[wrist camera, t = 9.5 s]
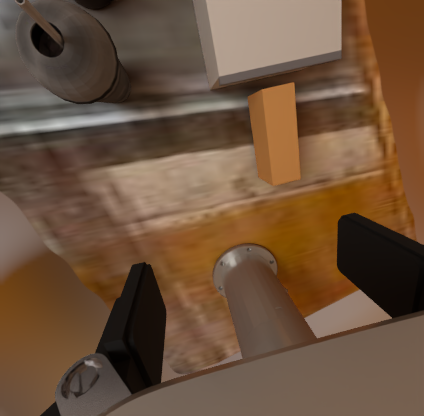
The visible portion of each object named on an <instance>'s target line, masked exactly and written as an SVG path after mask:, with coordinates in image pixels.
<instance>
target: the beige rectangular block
mask: <svg viewBox="0 0 424 416" xmlns="http://www.w3.org/2000/svg"><path fill="white" fill-rule="evenodd" d="M193 5H194V10H195V15H196V20H197V25H198V31H199V36H200V41H201V46H202V51H203V57H204V62H205V67H206V72H207V77H208V83H209V88H210V90H213V89H217V88H222V87H226V86H231V85H235V84H240V83H245V82H249V81H254V80H258V79H263V78H267V77H272V76H276V75H281V74H285V73H290V72H294V71H299V70H303V69H305V68H307V67H309V66H314V65H319V64H323V63H328V62H332V61H337V60H339V59H341V0H193Z"/></svg>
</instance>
